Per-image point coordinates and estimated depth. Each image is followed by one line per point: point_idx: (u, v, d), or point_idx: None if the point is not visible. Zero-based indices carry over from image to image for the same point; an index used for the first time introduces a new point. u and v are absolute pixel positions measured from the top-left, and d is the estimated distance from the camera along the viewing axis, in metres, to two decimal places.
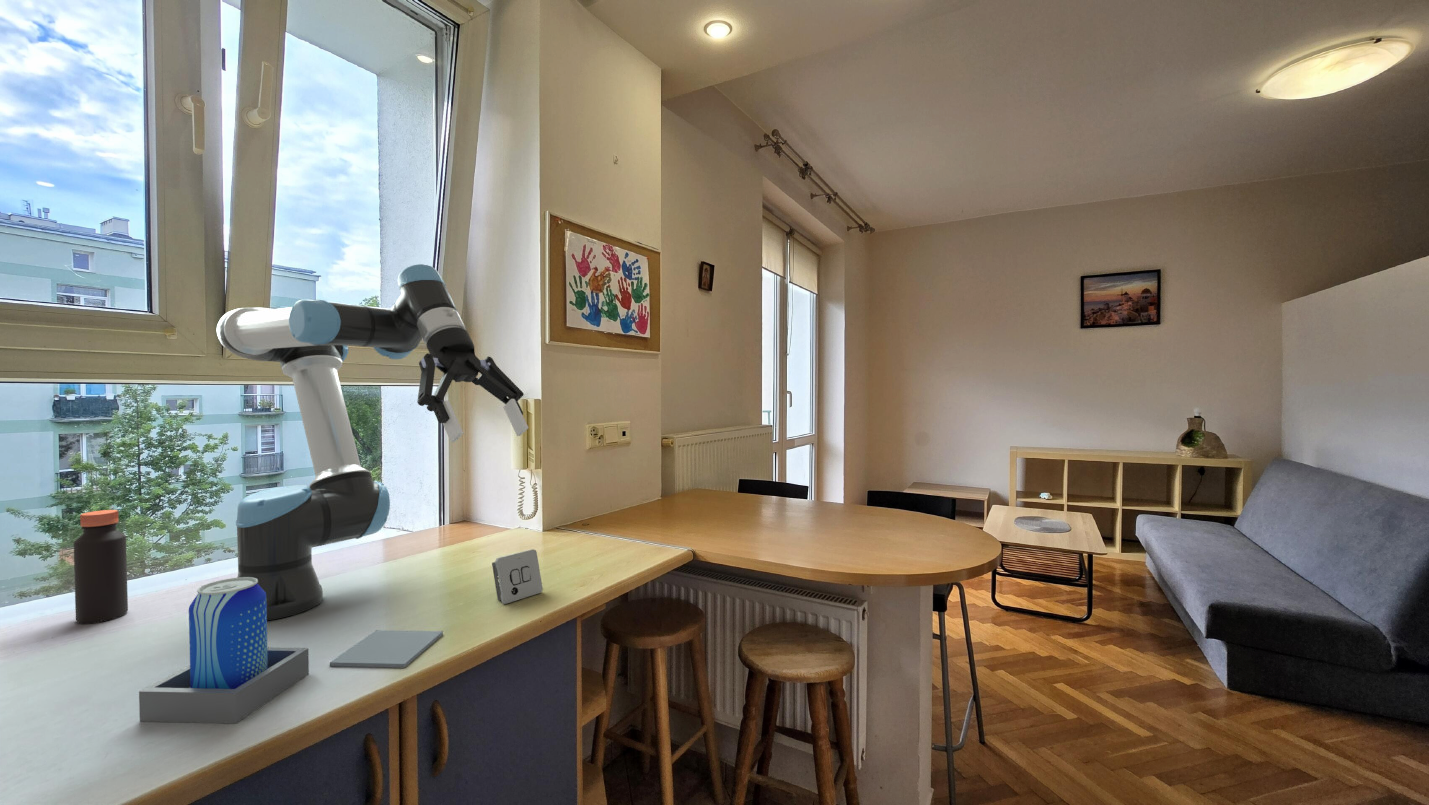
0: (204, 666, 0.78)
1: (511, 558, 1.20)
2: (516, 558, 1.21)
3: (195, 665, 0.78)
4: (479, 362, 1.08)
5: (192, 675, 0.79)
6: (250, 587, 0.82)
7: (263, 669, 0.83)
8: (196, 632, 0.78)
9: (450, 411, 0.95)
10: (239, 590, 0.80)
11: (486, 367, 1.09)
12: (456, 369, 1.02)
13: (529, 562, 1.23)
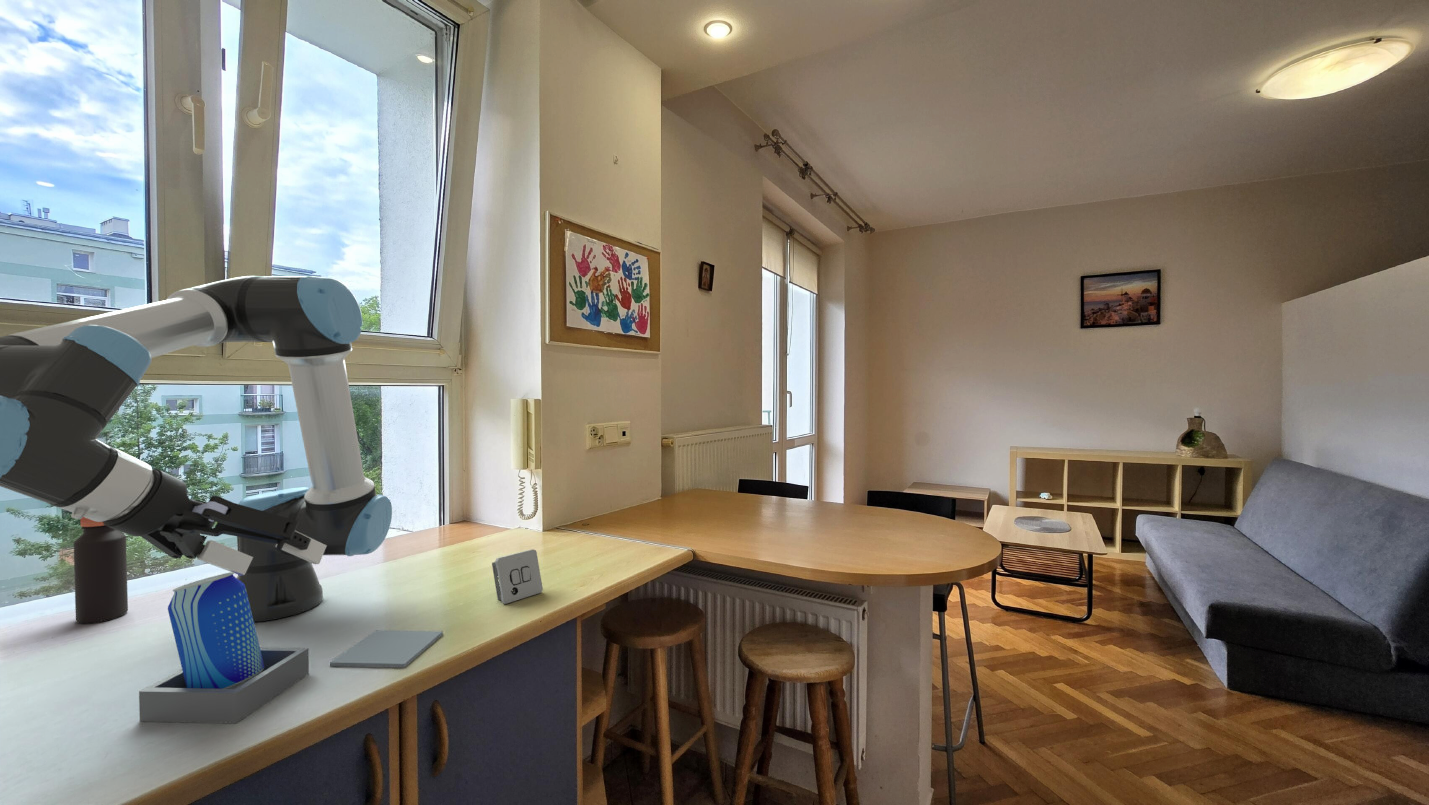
0: (193, 659, 0.78)
1: (511, 558, 1.20)
2: (516, 558, 1.21)
3: (184, 661, 0.78)
4: (197, 520, 0.71)
5: (184, 672, 0.79)
6: (225, 577, 0.82)
7: (256, 657, 0.83)
8: (179, 627, 0.78)
9: (213, 564, 0.81)
10: (214, 580, 0.81)
11: None
12: (175, 539, 0.74)
13: (529, 562, 1.23)
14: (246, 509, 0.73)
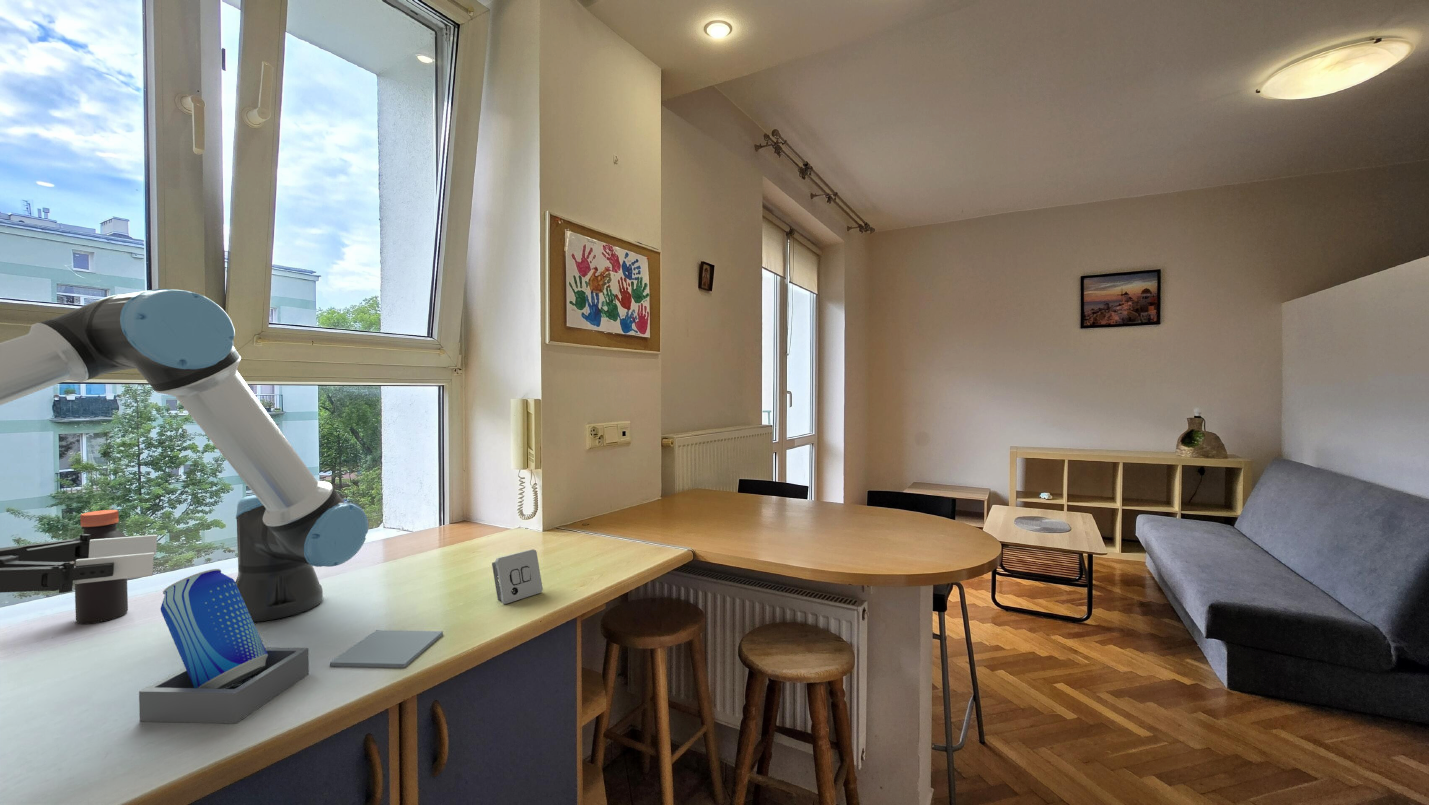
0: (193, 648, 0.79)
1: (511, 558, 1.20)
2: (516, 558, 1.21)
3: (185, 653, 0.79)
4: None
5: (186, 665, 0.79)
6: (212, 571, 0.85)
7: (257, 642, 0.84)
8: (174, 621, 0.80)
9: None
10: (201, 573, 0.83)
11: None
12: None
13: (529, 562, 1.23)
14: None
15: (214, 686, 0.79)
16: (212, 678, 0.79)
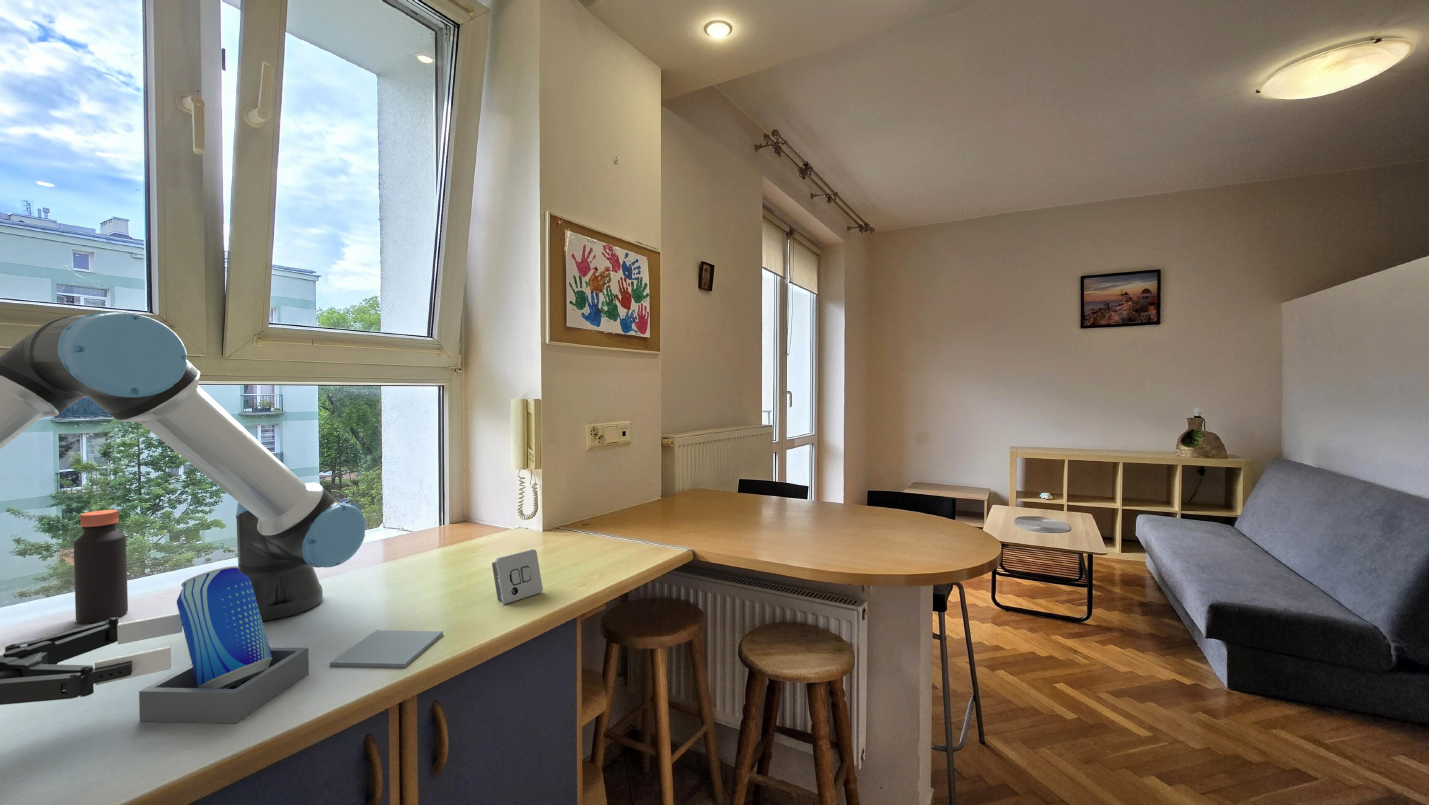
0: (203, 644, 0.80)
1: (511, 558, 1.20)
2: (516, 558, 1.21)
3: (194, 648, 0.80)
4: None
5: (194, 660, 0.80)
6: (232, 568, 0.86)
7: (265, 644, 0.85)
8: (189, 615, 0.81)
9: None
10: (221, 569, 0.84)
11: None
12: None
13: (529, 562, 1.23)
14: (10, 686, 0.64)
15: (218, 685, 0.79)
16: (218, 676, 0.79)
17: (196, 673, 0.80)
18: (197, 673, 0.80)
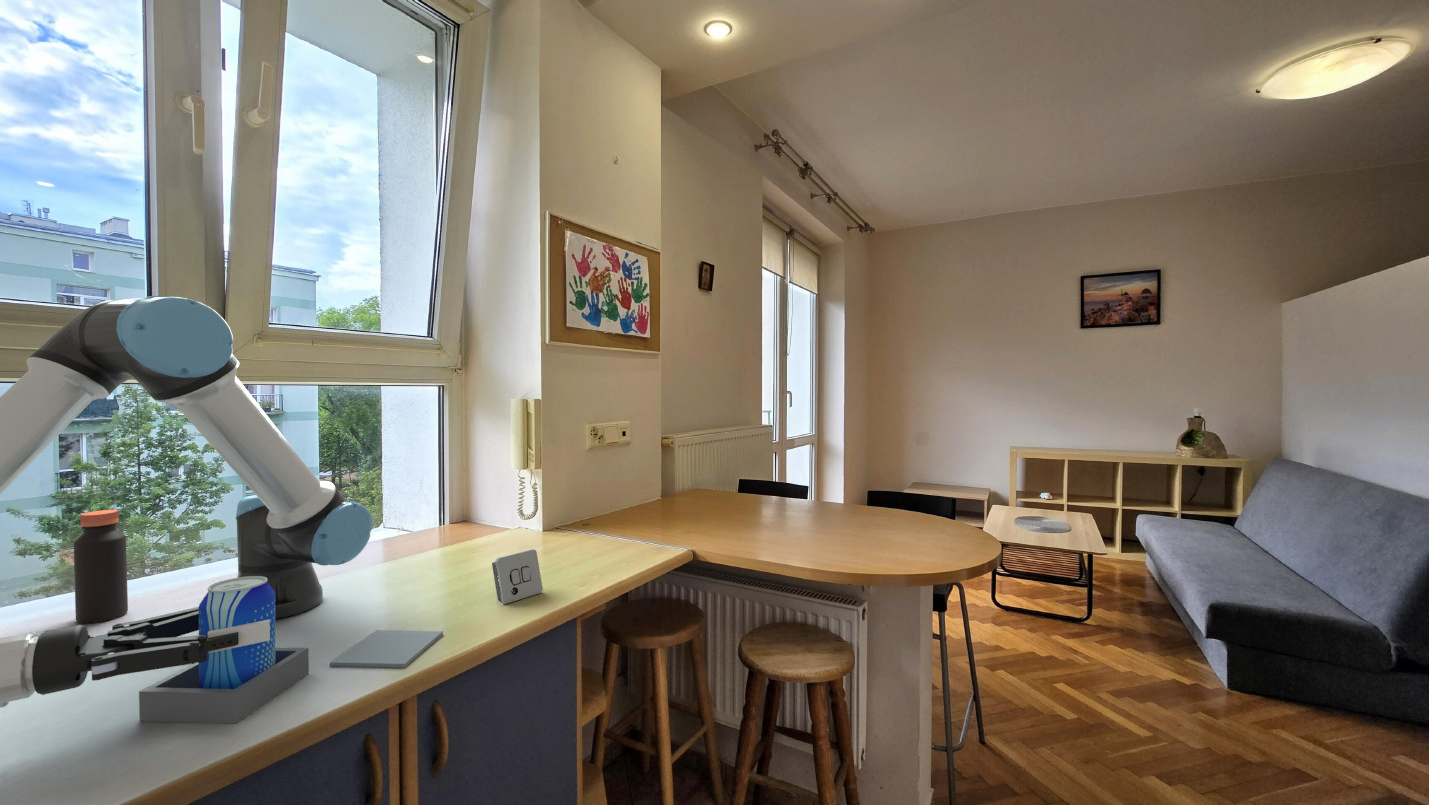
0: (217, 664, 0.78)
1: (511, 558, 1.20)
2: (516, 558, 1.21)
3: (207, 663, 0.78)
4: None
5: (203, 674, 0.78)
6: (262, 584, 0.83)
7: None
8: (210, 630, 0.78)
9: None
10: (253, 587, 0.81)
11: None
12: None
13: (529, 562, 1.23)
14: (134, 656, 0.71)
15: None
16: None
17: (202, 686, 0.79)
18: (203, 687, 0.78)
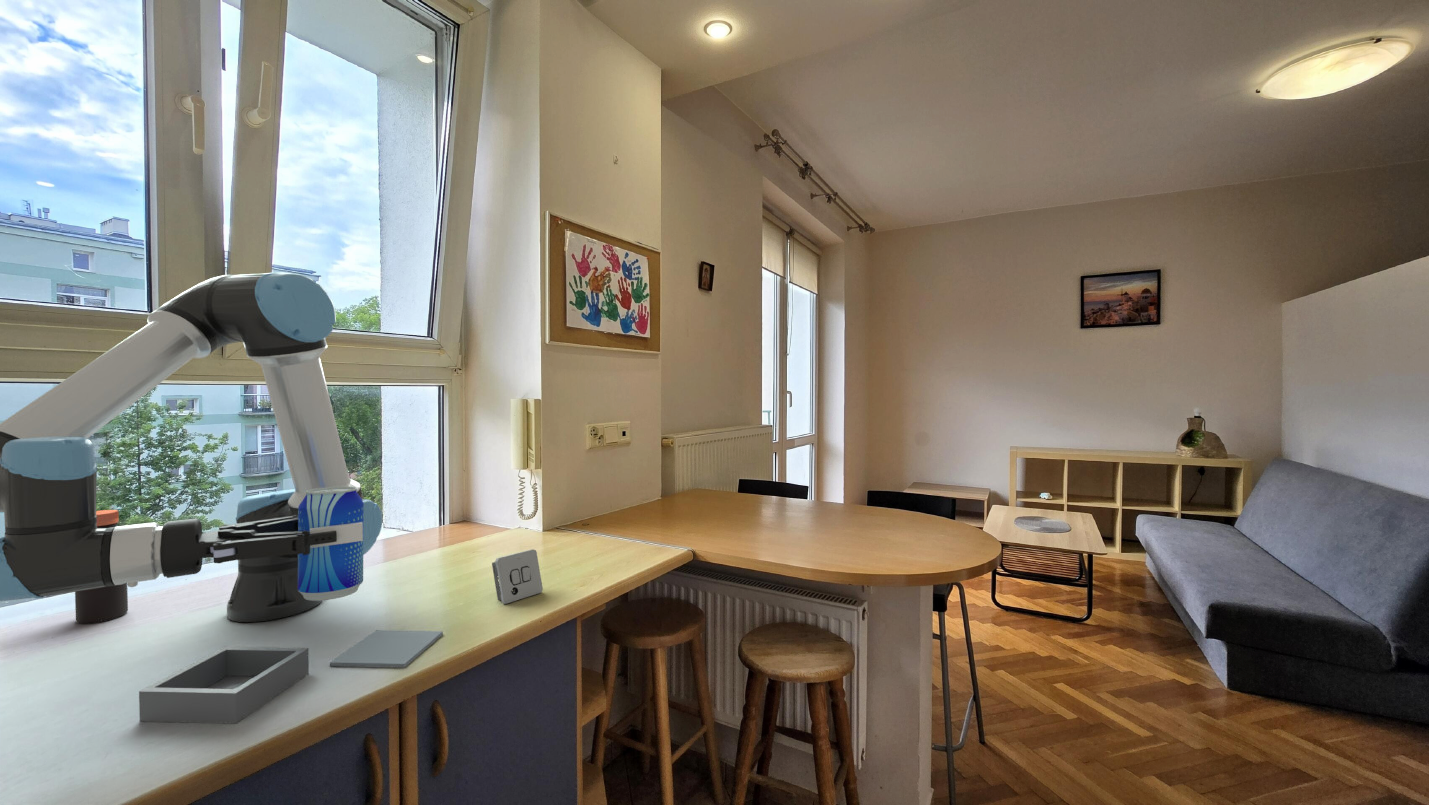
0: (316, 559, 0.85)
1: (511, 558, 1.20)
2: (516, 558, 1.21)
3: (307, 558, 0.85)
4: None
5: (303, 569, 0.85)
6: (353, 491, 0.90)
7: (362, 568, 0.91)
8: None
9: None
10: (346, 492, 0.88)
11: None
12: None
13: (529, 562, 1.23)
14: (250, 543, 0.78)
15: (319, 598, 0.86)
16: (322, 592, 0.85)
17: (302, 580, 0.85)
18: (303, 581, 0.85)
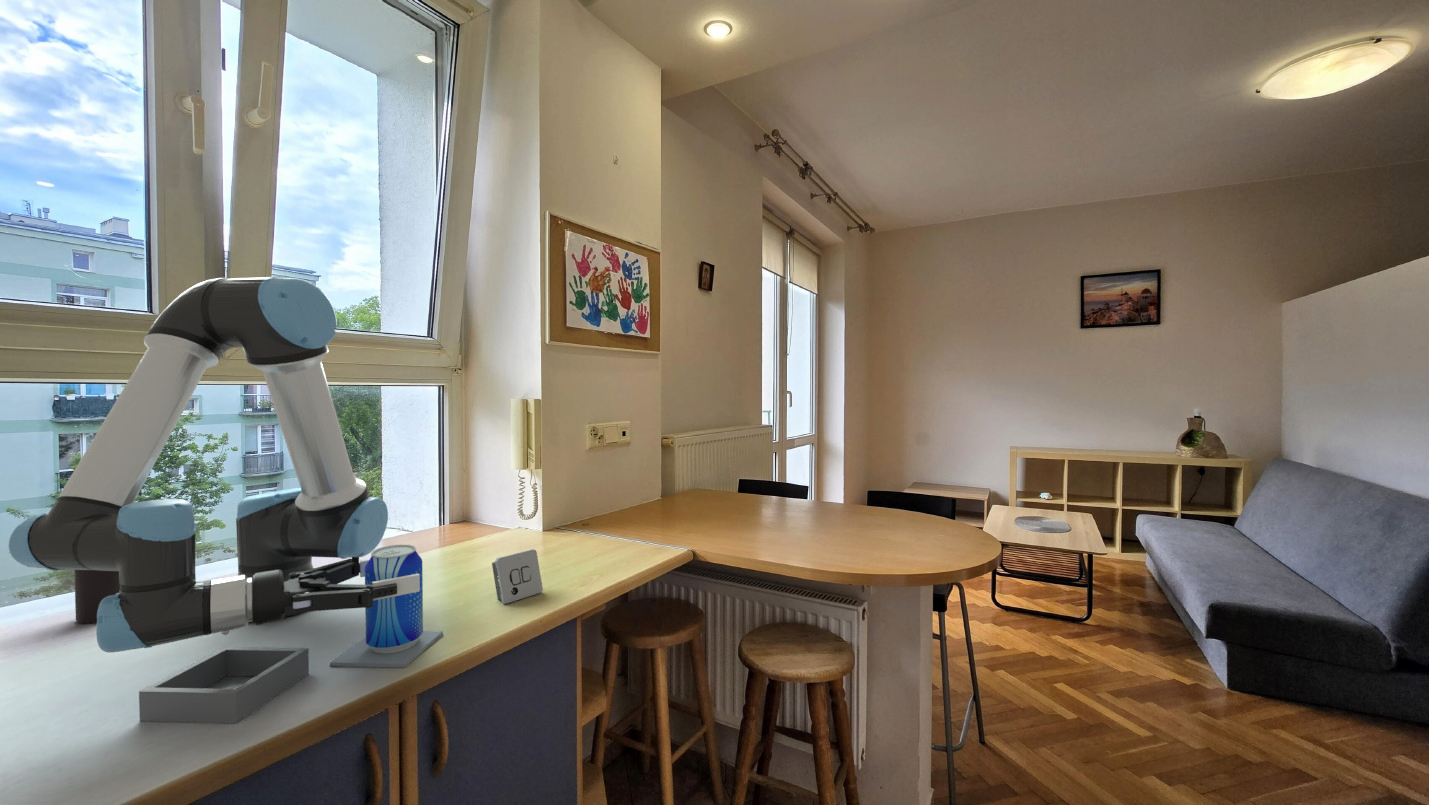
0: (384, 618, 0.93)
1: (511, 558, 1.20)
2: (516, 558, 1.21)
3: (376, 617, 0.93)
4: None
5: (372, 626, 0.93)
6: (414, 552, 0.97)
7: (422, 620, 0.99)
8: None
9: None
10: (408, 554, 0.95)
11: None
12: None
13: (529, 562, 1.23)
14: (323, 596, 0.85)
15: (386, 651, 0.94)
16: (390, 647, 0.93)
17: (371, 636, 0.93)
18: (372, 636, 0.93)
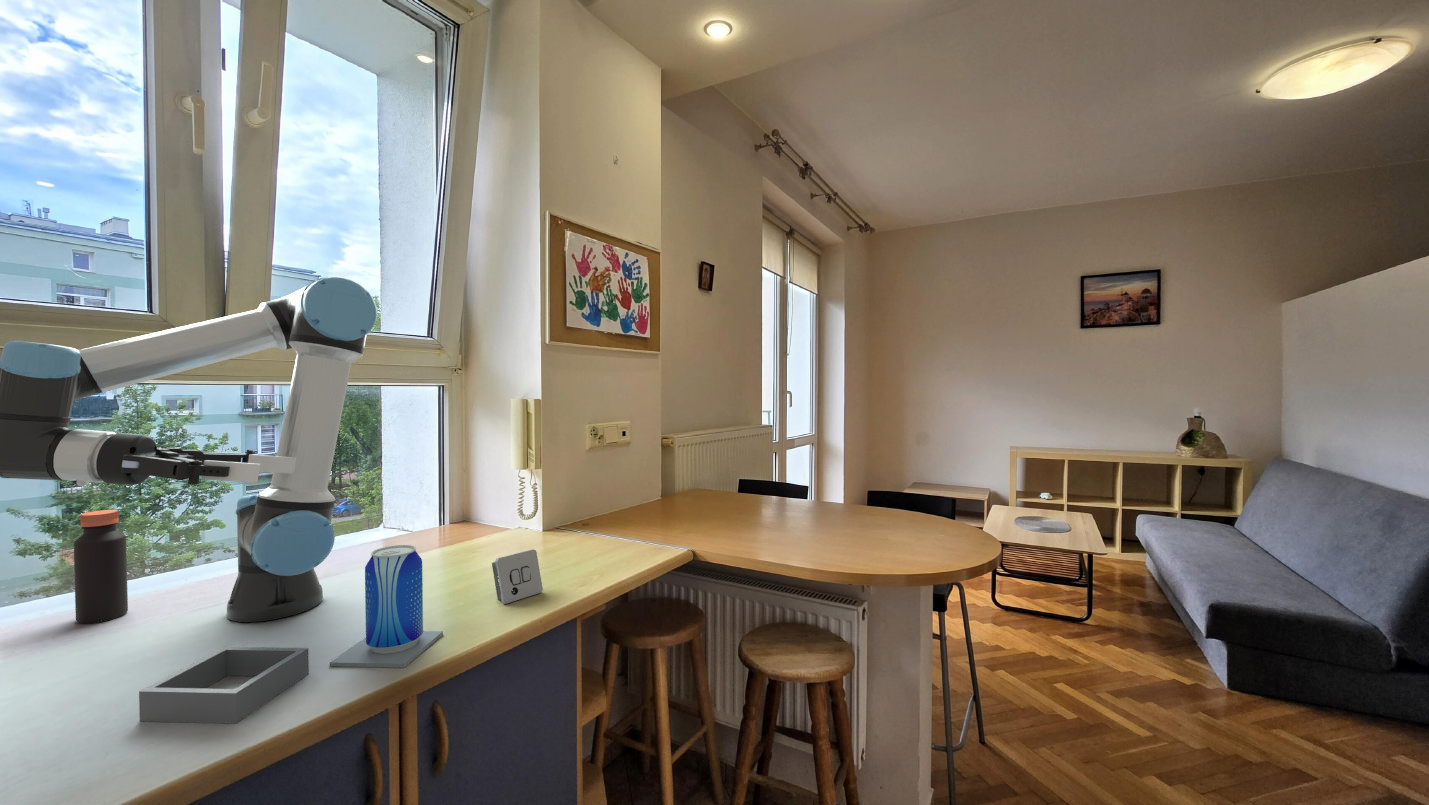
0: (385, 617, 0.93)
1: (511, 558, 1.20)
2: (516, 558, 1.21)
3: (376, 617, 0.93)
4: None
5: (373, 626, 0.93)
6: (414, 551, 0.97)
7: (422, 620, 0.99)
8: (379, 589, 0.93)
9: None
10: (409, 553, 0.96)
11: None
12: None
13: (529, 562, 1.23)
14: (147, 460, 0.81)
15: (387, 651, 0.94)
16: (391, 646, 0.93)
17: (371, 636, 0.93)
18: (373, 637, 0.93)
